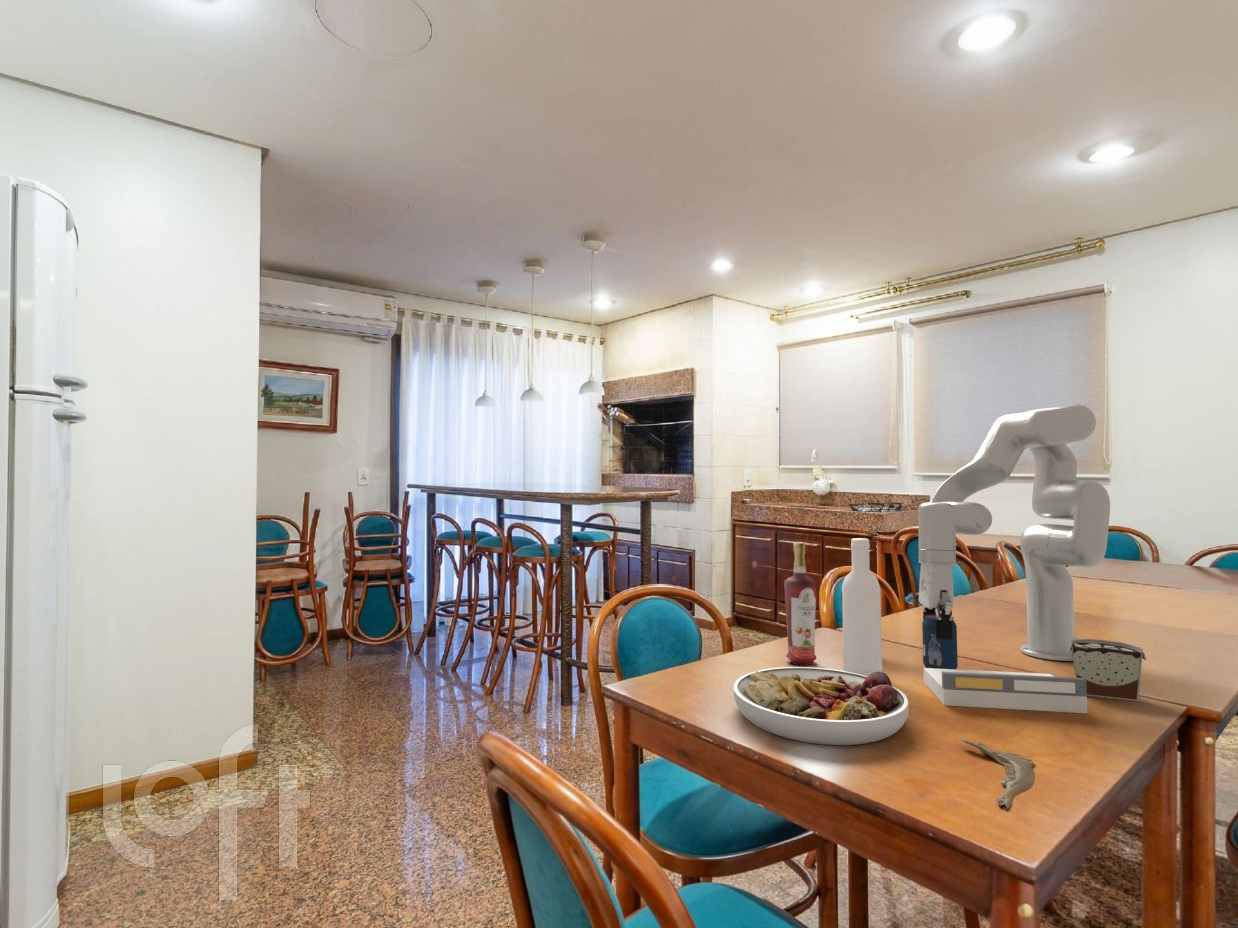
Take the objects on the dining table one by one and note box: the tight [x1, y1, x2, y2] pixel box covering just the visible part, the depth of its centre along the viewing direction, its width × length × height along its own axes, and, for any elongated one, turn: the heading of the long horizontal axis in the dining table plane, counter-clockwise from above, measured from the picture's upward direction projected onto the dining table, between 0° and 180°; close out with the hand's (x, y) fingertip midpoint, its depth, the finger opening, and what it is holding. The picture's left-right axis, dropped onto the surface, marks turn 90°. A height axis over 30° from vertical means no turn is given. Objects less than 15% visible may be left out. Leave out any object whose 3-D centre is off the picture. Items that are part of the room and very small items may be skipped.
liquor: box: [783, 542, 817, 666], centre depth 149 cm, size 7×7×28 cm
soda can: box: [921, 614, 959, 670], centre depth 142 cm, size 7×7×12 cm
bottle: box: [841, 537, 884, 676], centre depth 137 cm, size 8×8×30 cm
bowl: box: [733, 666, 910, 746], centre depth 114 cm, size 30×30×8 cm
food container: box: [1068, 638, 1147, 702], centre depth 126 cm, size 12×6×10 cm, turn 65°
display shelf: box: [923, 667, 1088, 714], centre depth 124 cm, size 24×14×6 cm, turn 79°
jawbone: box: [960, 737, 1036, 810], centre depth 90 cm, size 9×20×2 cm, turn 165°
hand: (937, 633), depth 142 cm, fingers open, 9 cm apart
